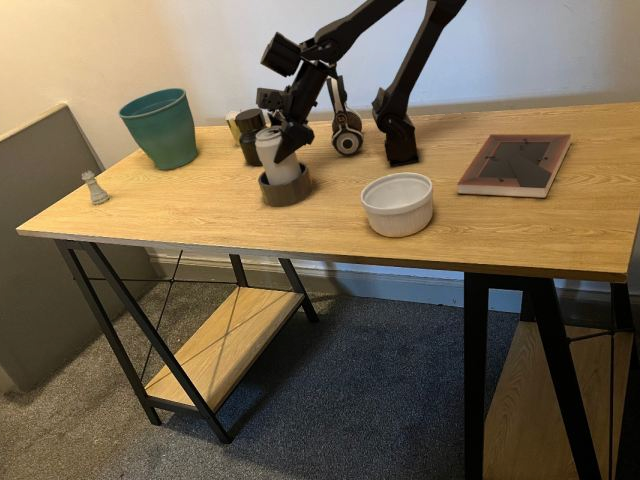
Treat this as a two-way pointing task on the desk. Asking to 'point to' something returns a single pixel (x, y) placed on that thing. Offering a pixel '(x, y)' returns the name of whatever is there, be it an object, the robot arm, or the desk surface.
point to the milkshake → (233, 125)
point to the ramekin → (398, 203)
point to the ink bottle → (250, 133)
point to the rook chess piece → (95, 188)
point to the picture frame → (515, 165)
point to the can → (267, 150)
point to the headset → (344, 120)
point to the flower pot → (162, 127)
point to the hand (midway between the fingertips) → (271, 156)
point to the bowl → (287, 189)
